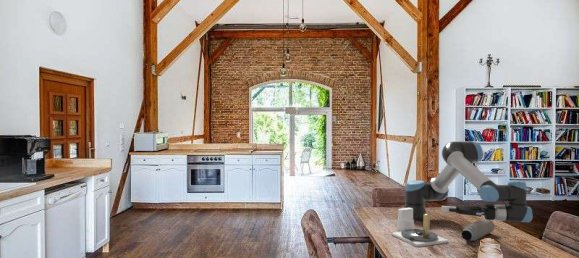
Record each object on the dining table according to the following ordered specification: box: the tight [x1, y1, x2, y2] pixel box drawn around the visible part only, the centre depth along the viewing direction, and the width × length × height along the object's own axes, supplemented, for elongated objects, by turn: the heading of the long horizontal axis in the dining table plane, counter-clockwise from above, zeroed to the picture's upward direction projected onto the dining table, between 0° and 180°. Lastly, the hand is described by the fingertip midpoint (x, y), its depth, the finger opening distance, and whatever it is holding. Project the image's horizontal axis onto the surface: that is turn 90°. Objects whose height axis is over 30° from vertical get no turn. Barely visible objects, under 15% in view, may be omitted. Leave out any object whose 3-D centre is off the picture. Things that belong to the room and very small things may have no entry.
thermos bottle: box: [461, 217, 495, 242], centre depth 197 cm, size 8×8×28 cm
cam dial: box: [400, 213, 439, 241], centre depth 194 cm, size 18×18×13 cm
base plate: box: [391, 231, 449, 247], centre depth 194 cm, size 20×20×3 cm
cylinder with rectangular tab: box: [396, 207, 415, 232], centre depth 210 cm, size 9×9×12 cm
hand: (441, 208), depth 184 cm, fingers closed
